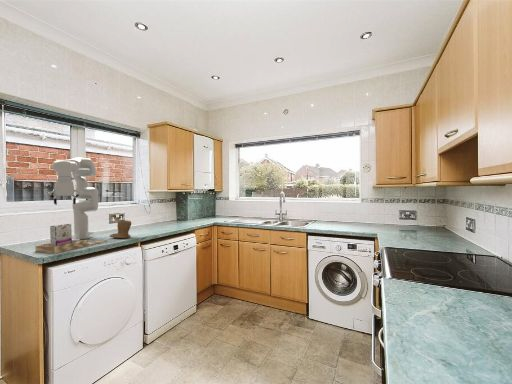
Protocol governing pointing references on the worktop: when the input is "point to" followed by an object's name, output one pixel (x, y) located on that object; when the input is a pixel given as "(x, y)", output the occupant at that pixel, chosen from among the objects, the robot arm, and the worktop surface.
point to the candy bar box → (60, 234)
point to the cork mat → (96, 242)
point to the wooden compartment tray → (60, 247)
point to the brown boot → (122, 229)
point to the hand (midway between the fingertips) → (65, 204)
